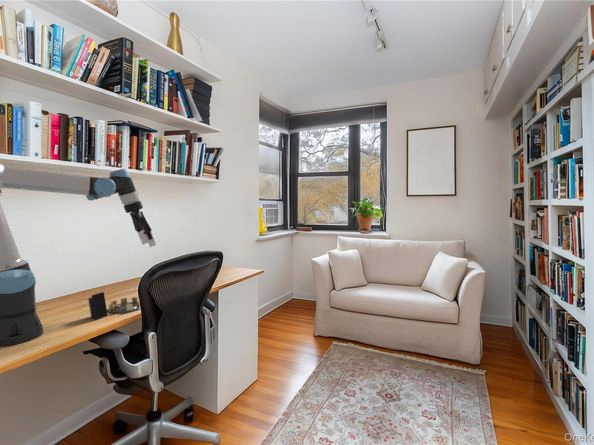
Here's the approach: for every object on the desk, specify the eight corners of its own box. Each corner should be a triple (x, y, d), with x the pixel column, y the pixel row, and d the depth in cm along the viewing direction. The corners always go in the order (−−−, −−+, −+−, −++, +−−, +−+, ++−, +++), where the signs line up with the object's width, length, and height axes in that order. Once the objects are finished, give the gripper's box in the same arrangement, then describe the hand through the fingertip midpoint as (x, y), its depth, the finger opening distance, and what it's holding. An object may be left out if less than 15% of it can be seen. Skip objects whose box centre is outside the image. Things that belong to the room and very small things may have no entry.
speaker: (111, 315, 137) (107, 291, 137) (95, 320, 133) (92, 295, 132) (104, 314, 142) (100, 290, 142) (89, 318, 137) (85, 294, 137)
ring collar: (99, 313, 142) (99, 306, 142) (122, 302, 157) (122, 296, 156) (131, 314, 140) (131, 306, 140) (151, 303, 155) (151, 297, 155)
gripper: (146, 199, 142) (164, 243, 148) (133, 200, 162) (149, 239, 167) (129, 205, 138) (148, 250, 143) (117, 205, 157) (135, 245, 163)
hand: (149, 244), depth 155 cm, fingers open, 13 cm apart
